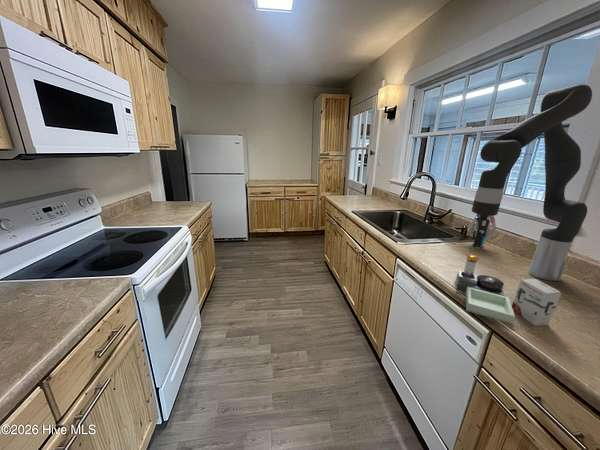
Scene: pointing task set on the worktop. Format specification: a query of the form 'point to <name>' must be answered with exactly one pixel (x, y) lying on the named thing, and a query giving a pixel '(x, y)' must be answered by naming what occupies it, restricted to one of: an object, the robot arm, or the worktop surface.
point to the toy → (492, 220)
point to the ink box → (535, 301)
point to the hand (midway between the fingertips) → (475, 243)
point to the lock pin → (470, 266)
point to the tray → (489, 305)
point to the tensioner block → (479, 283)
